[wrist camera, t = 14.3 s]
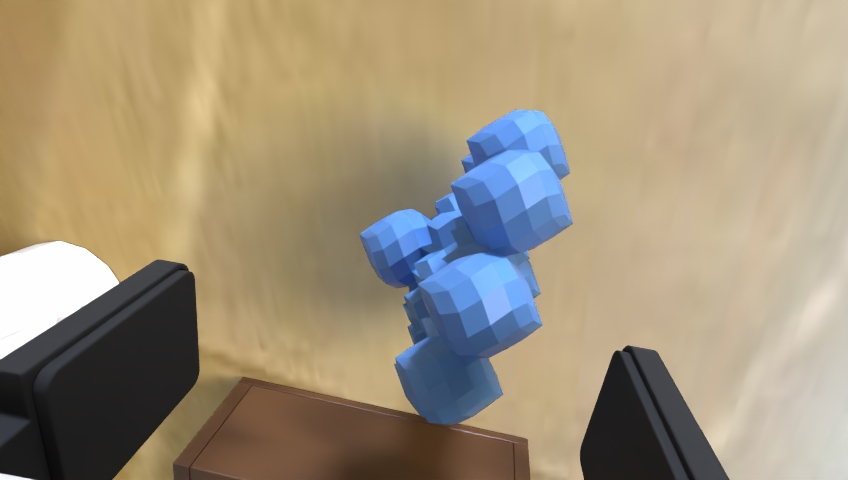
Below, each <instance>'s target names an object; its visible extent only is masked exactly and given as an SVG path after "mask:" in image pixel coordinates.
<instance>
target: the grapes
mask: <svg viewBox="0 0 848 480" xmlns="http://www.w3.org/2000/svg"><path fill="white" fill-rule="evenodd" d="M467 143H468V146H469V149H470V152H471V154H470V155H468V156H467V157H466V158H464V159H463V160H461V161H462V164H463V167H464V170H465V173H466V174H465V175H463V176H462V177H460V178H459V179H458V180H456V181H455V182H453V183H452V184H451V187H452V190H453V192H452V193H450V194H448V195H446V196H445V197H443V198H442V199H440V200H438V201H437V202H435V203H436V205H437V206H436V207H435V208H436V210H437V212H438V215H437V216H435V217H434V218H432V219H431V220H430V219H428V218H427V217H425V216H424V215H423V214H421V213H420V212H417V211H415V210H413V209H407V210H401V211H397V212H394V213H392V214H390V215H387V216H386V217H384V218H383V219H381V220H379V221H378V222H376V223H374V224H373V225H371V226H370V227H369V228H367V229H366V230H364V231H363V232H362V233H360V237H361V239H362V242H363V245H364V248H365V251H366V253H367V256H368V258H369V261H370V264H371V265H372V267H373V269H374V270H375V272H376V273H377V275H378V277H379V278H380V279H382V280H383V281H384V282H385V283H386V284H388V285H391V286H393V287H395V288H401V287H406V286H409V289H410V290H409V291H410V293H408V294H407V295H405V296H404V298H405V301H406V304H403V306H404V308H405V311H406V313H407V316H408V318H409V320H410V322H411V323H412V324H411V325H410V326H408V329H409V332H410V335H411V338H412V341H413V343H414V345H413V346H412V347H410V348H409V349H407V350H406V351H404V352H403V353H401V354H400V355H399V356H397V357H396V358H395V359H396V362H397V363H396V364H394V365H395V368H396V370H397V373H398V376H399V379H400V382H401V384H402V387H403V390H404V392H405V395H406V397H407V398H408V400H409V401H410V403H411V404H412V405H413V407H414V408H415V409H416V410H417V412H418V413H419V414H420V416H421V417H425V418H426V420H427V421H428V422H431V423H437V424H443V425H455V424H457V423H460V422H462V421H464V420H466V419H468V418H470V417H473V416H474V415H476V414H477V413H479V412H480V411H481V410H483V409H484V408H486V407H487V406H489V405H490V404H491V403H493V402H494V401H495V400H496V399H498V398H499V397H500V396H502V395H503V393H502V390H501V387H500V384H499V381H498V378H497V375H496V373H495V371H494V369H493V367H492V365H491V363H490V361H489V359H488V358H489V357H491V356H493V355H495V354H497V353H499V352H501V351H503V350H505V349H507V348H509V347H511V346H512V345H514V344H516V343H518V342H520V341H521V340H523V339H525V338H526V337H527V336H529V335H530V334H531V333H533V332H534V331H535V330H537V329H538V328H540V327H541V326H542V323H541V320H540V317H539V314H538V311H537V308H536V305H535V302H534V298H535V297H536V296H538V295H539V294H541V293H540V290H539V287H538V284H537V281H536V278H535V275H534V272H533V269H532V267H531V264H530V262H529V260H528V259H529V255H528V252H527V251H528V250H531V249H534V248H535V247H537V246H539V245H540V244H542V243H544V242H545V241H547V240H549V239H550V238H552V237H554V236H555V235H557V234H558V233H560V232H561V231H563V230H564V229H566V228H567V227H569V226H570V225H571V224H573V223H572V219H571V215H570V211H569V208H568V204H567V201H566V198H565V195H564V192H563V188H562V185H561V182H560V179H562V178H563V177H565V176H566V175H568V174H569V173H570V172H569V168H568V164H567V160H566V155H565V152H564V149H563V146H562V143H561V140H560V137H559V135H558V133H557V131H556V129H555V127H554V126H553V124H552V123H551V122H550V120H549V119H548V118H547V117H546V116H545V114H544V113H543V112H542V111H531V110H514V111H512V112H510V113H508V114H507V115H505V116H503V117H501V118H499V119H497V120H496V121H494V122H492V123H491V124H489V125H487V126H486V127H484V128H483V129H481V130H480V131H478V132H477V133H476V134H474V135H473V136H472V137H470V138H469V139H468V140H467Z"/></svg>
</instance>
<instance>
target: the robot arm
mask: <svg viewBox="0 0 848 480" xmlns="http://www.w3.org/2000/svg"><path fill="white" fill-rule="evenodd" d="M198 376H199V350H198V331H197V312H196V293H195V278H194V274H193V273H192V272H189V270H188V268H187V266H186V265H185V264H181V263H176V262H170V261H165V260H156V261H154V262H152V263H150V264H149V265H147V266H146V267H144V268H143V269H141V270H140V271H138V272H136V273H135V274H133V275H132V276H130V277H129V278H127V279H125V280H124V281H122V282H121V283H119V284H118V285H116V286H114V287H113V288H111V289H110V290H108V291H107V292H105V293H103V294H102V295H100V296H99V297H97V298H96V299H94V300H93V301H91V302H89V303H88V304H86V305H85V306H83V307H82V308H80V309H78V310H77V311H75V312H74V313H72V314H71V315H69V316H67V317H66V318H64V319H63V320H61V321H60V322H58V323H56V324H55V325H53V326H52V327H50V328H49V329H47V330H46V331H44V332H42V333H41V334H39V335H38V336H36V337H35V338H33V339H31V340H30V341H28V342H27V343H25V344H24V345H22V346H20V347H19V348H17V349H16V350H14V351H13V352H11V353H9V354H8V355H6V356H5V357H3V358H2V359H0V480H112V479H113V478H114V477H115V476H116V475H117V474H118V472H119V471H120V470H121V469H122V468H123V467H124V466H125V464H126V463H127V462H128V461H129V460H130V459H131V458H132V456H133V455H134V454H135V453H136V452H137V451H138V449H139V448H140V447H141V446H142V445H143V444H144V443H145V441H146V440H147V439H148V438H149V437H150V436H151V435H152V433H153V432H154V431H155V430H156V429H157V428H158V426H159V425H160V424H161V423H162V422H163V421H164V420H165V418H166V417H167V416H168V415H169V414H170V413H171V412H172V410H173V409H174V408H175V407H176V406H177V405H178V403H179V402H180V401H181V400H182V399H183V398H184V397H185V395H186V394H187V393H188V392H189V391H190V390H191V388H192V387H193V386H194V385H195V383H196V381H197V379H198ZM580 462H581V467H582V472H583V476H584V480H729V478H728V476H727V474H726V473H725V471H724V469H723V467H722V466H721V464H720V462H719V460H718V458H717V457H716V455H715V453H714V451H713V450H712V448H711V446H710V444H709V442H708V441H707V439H706V437H705V435H704V434H703V432H702V430H701V429H700V427H699V425H698V424H697V422H696V420H695V418H694V416H693V415H692V413H691V411H690V409H689V408H688V406H687V404H686V402H685V400H684V399H683V397H682V395H681V393H680V392H679V390H678V388H677V386H676V384H675V383H674V381H673V379H672V377H671V376H670V374H669V372H668V370H667V368H666V367H665V365H664V363H663V361H662V360H661V358H660V356H659V354H658V353H657V352H656V351H654V350H650V349H644V348H639V347H633V346H626V347H625V348H624V349H623V351H615V353H614V354H613V356H612V359H611V362H610V365H609V368H608V370H607V373H606V376H605V379H604V382H603V385H602V388H601V390H600V393H599V396H598V399H597V402H596V405H595V408H594V411H593V413H592V416H591V419H590V422H589V425H588V428H587V431H586V433H585V436H584V439H583V442H582V445H581V450H580Z"/></svg>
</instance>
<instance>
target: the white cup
mask: <svg viewBox="0 0 848 480" xmlns="http://www.w3.org/2000/svg"><path fill="white" fill-rule="evenodd" d="M118 284H119V282H118V280H117V279H116V277H115V276H114V274H113V273H112V271H111V270H110V268H109V267H108V266H107V265H106V264H104V263H103V262H102V261H101V260H99V259H98V258H97V257H95V256H94V255H93V254H92V253H90V252H89V251H88V250H86V249H84V248H81V247H78V246H75V245H72V244H69V243H65V242H62V241H55V242H48V243H41V244H36V245H32V246H30V247H27V248H24V249H21V250H18V251H15V252H12V253H10V254H7V255H4V256H0V359H2V358H3V357H5V356H6V355H8V354H9V353H11V352H13V351H14V350H16V349H17V348H19V347H20V346H22V345H24V344H25V343H27V342H28V341H30V340H31V339H33V338H35V337H36V336H38V335H39V334H41V333H42V332H44V331H46V330H47V329H49V328H50V327H52V326H53V325H55V324H56V323H58V322H60V321H61V320H63V319H64V318H66V317H67V316H69V315H71V314H72V313H74V312H75V311H77V310H78V309H80V308H82V307H83V306H85V305H86V304H88V303H89V302H91V301H93V300H94V299H96V298H97V297H99V296H100V295H102V294H103V293H105V292H107V291H108V290H110V289H111V288H113V287H114V286H116V285H118Z"/></svg>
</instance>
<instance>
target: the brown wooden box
mask: <svg viewBox="0 0 848 480" xmlns="http://www.w3.org/2000/svg"><path fill="white" fill-rule="evenodd" d="M173 470H174V480H530V467H529V453H528V440H527V439H524V438H519V437H515V436H510V435H506V434H501V433H496V432H492V431H487V430H483V429H478V428H474V427H469V426H464V425H460V424H455V425H443V424H437V423H431V422H428V421H427V420H426V418H425V417H421V416H419V415H414V414H410V413H405V412H400V411H396V410H391V409H387V408H382V407H378V406H373V405H369V404H364V403H359V402H355V401H350V400H346V399H341V398H337V397H332V396H327V395H323V394H318V393H314V392H309V391H305V390H300V389H295V388H291V387H286V386H282V385H277V384H273V383H268V382H263V381H259V380H254V379H250V378H245V377H243V378H242V379H241V380H240V382H239V383H238V384H237V385H236V387H235V388H234V389H233V390H232V392H231V393H230V394H229V395H228V396H227V398H226V399H225V400H224V401H223V403H222V404H221V405H220V406H219V408H218V409H217V410H216V411H215V412H214V414H213V415H212V416H211V417H210V419H209V420H208V421H207V422H206V424H205V425H204V426H203V427H202V428H201V430H200V431H199V432H198V433H197V435H196V436H195V437H194V438H193V440H192V441H191V442H190V443H189V444H188V446H187V447H186V448H185V449H184V451H183V452H182V453H181V454H180V456H179V457H178V458H177V459H176V460H175V462H174V463H173Z"/></svg>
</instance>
